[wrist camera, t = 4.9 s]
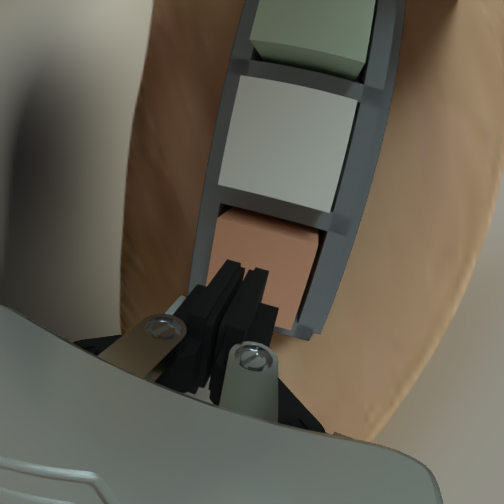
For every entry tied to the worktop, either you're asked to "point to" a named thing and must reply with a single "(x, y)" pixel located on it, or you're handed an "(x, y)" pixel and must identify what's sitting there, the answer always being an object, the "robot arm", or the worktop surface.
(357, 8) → the sage button
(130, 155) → the worktop surface
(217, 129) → the grey long rectangular frame
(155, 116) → the worktop surface
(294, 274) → the terracotta button
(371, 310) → the worktop surface
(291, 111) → the cream button
